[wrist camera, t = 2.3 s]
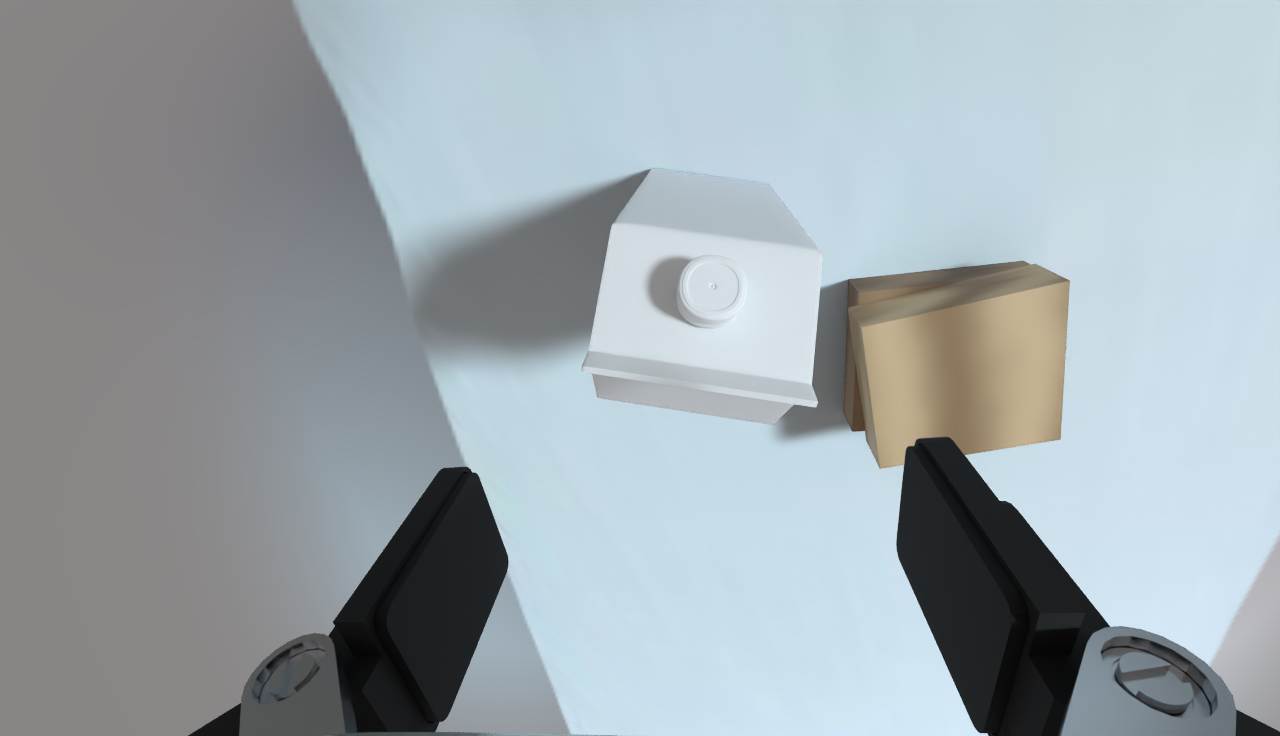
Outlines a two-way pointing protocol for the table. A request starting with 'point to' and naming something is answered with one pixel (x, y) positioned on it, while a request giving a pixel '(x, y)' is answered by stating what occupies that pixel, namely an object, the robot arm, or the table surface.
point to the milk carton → (707, 300)
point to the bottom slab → (888, 288)
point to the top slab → (964, 363)
